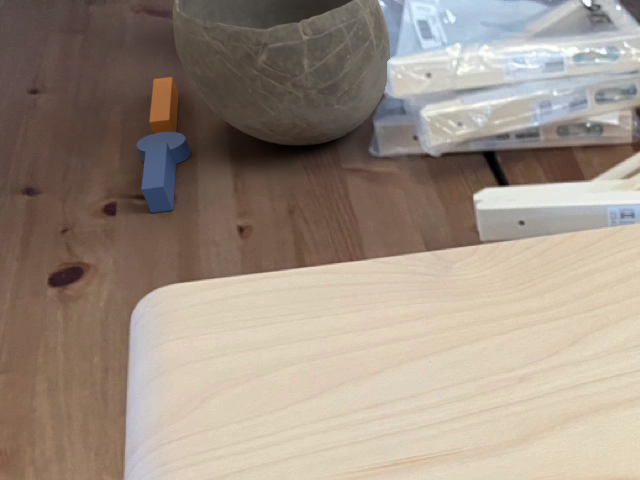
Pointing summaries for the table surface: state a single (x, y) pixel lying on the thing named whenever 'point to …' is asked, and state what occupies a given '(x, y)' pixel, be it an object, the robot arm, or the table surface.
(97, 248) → the table surface
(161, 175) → the blue block
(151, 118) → the block
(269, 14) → the bowl
